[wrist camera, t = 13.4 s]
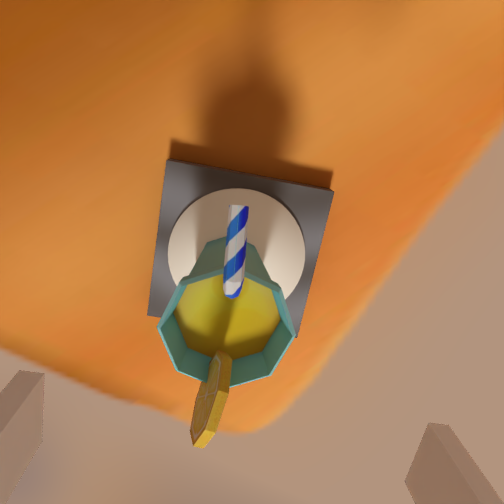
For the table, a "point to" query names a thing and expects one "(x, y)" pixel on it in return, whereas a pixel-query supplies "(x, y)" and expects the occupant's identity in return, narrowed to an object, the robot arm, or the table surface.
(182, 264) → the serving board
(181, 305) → the cup
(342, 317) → the table surface
